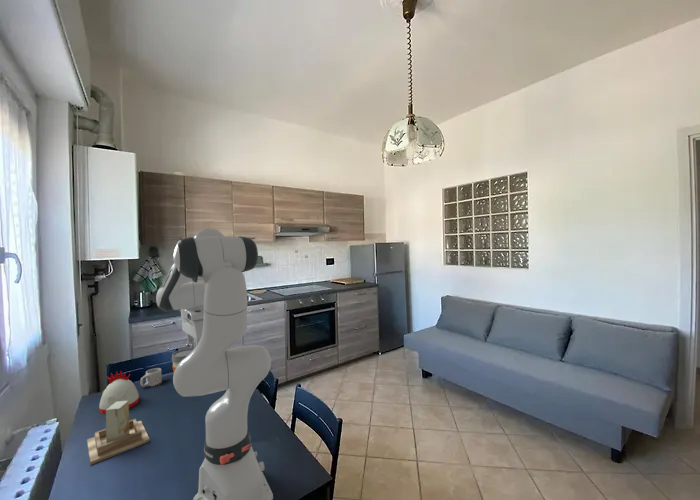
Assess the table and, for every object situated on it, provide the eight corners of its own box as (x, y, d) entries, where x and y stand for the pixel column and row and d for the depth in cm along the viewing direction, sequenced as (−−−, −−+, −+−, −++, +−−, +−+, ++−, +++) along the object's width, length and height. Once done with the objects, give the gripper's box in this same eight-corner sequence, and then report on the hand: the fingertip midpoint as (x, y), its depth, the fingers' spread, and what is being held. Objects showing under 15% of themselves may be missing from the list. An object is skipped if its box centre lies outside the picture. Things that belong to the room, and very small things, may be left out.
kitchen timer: (103, 402, 135) (102, 369, 135) (140, 394, 142) (139, 362, 142) (95, 417, 123) (94, 381, 123) (136, 407, 130) (135, 373, 130)
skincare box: (119, 443, 104) (118, 409, 104) (105, 445, 103) (104, 410, 103) (130, 432, 110) (129, 399, 110) (117, 434, 110) (116, 400, 110)
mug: (155, 379, 158) (155, 367, 157) (164, 381, 155) (164, 368, 155) (136, 388, 148) (135, 375, 148) (145, 390, 146) (145, 376, 146)
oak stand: (149, 441, 107) (149, 431, 107) (90, 464, 96) (89, 454, 95) (141, 423, 118) (140, 414, 118) (87, 442, 107) (86, 432, 107)
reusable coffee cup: (169, 381, 155) (168, 352, 155) (196, 373, 164) (195, 346, 164) (175, 389, 146) (174, 358, 146) (203, 381, 154) (202, 352, 154)
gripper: (177, 309, 127) (178, 342, 127) (192, 317, 112) (193, 353, 112) (193, 307, 131) (194, 339, 131) (210, 314, 117) (211, 349, 117)
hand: (194, 345), depth 122 cm, fingers open, 8 cm apart
